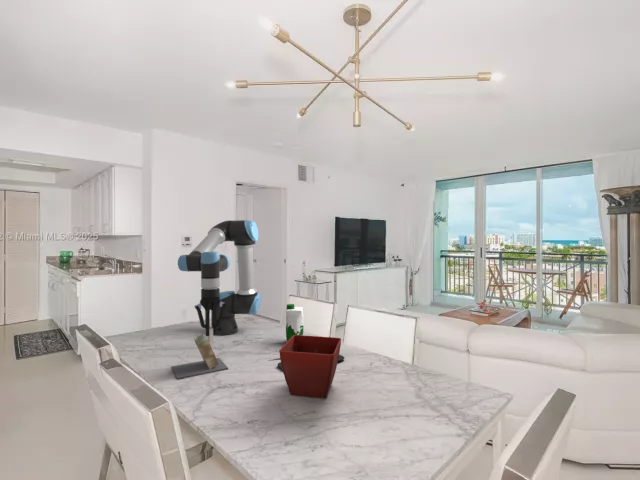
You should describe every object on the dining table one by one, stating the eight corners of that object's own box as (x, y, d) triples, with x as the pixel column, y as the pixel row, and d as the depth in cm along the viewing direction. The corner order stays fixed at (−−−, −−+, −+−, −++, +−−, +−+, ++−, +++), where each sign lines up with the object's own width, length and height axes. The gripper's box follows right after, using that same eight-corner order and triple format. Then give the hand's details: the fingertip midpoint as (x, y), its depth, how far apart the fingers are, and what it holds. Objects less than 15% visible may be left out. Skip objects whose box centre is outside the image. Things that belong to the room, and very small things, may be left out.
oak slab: (213, 357, 153) (202, 333, 151) (218, 363, 145) (207, 339, 143) (204, 362, 151) (193, 338, 149) (209, 369, 143) (198, 344, 141)
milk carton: (286, 340, 185) (286, 303, 185) (303, 340, 185) (303, 303, 184) (284, 345, 176) (284, 306, 176) (302, 345, 176) (302, 306, 176)
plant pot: (333, 405, 114) (333, 354, 114) (278, 399, 118) (278, 350, 118) (341, 381, 133) (341, 337, 133) (293, 377, 137) (293, 334, 137)
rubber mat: (219, 359, 157) (219, 357, 157) (228, 369, 145) (228, 367, 145) (171, 367, 146) (171, 366, 146) (177, 379, 134) (177, 378, 134)
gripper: (223, 285, 154) (223, 338, 154) (192, 288, 147) (192, 343, 148) (228, 287, 148) (228, 343, 148) (196, 290, 141) (196, 348, 141)
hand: (210, 343), depth 148 cm, fingers closed
